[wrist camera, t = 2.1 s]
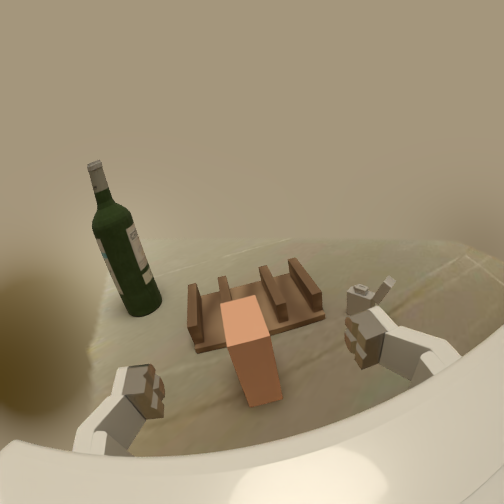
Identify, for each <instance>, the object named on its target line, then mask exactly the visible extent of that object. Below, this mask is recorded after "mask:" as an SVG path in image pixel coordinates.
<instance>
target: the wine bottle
mask: <svg viewBox="0 0 504 504" xmlns="http://www.w3.org/2000/svg"><path fill="white" fill-rule="evenodd" d="M87 168H88V172H89V174H90V178H91V182H92V186H93V190H94V194H95V198H96V201H97V212H96V214H95V216H94V219H93V221H92V229H93V232H94V235H95V238H96V240H97V243H98V246H99V248H100V251H101V253H102V256H103V258H104V261H105V263H106V265H107V268H108V270H109V272H110V275H111V277H112V279H113V281H114V283H115V286H116V288H117V290H118V292H119V294H120V296H121V298H122V300H123V303H124V305H125V307H126V309H127V311H128V313H129V314H131V315H132V316H137V317H138V316H144V315H147V314H149V313H151V312H153V311H154V310H156V309H157V308H158V307H159V306H160V304H161V301H162V297H161V294H160V292H159V290H158V287H157V285H156V282H155V280H154V277H153V275H152V272H151V269H150V267H149V264H148V262H147V259H146V256H145V254H144V251H143V248H142V245H141V242H140V240H139V237H138V234H137V231H136V228H135V225H134V222H133V219H132V216H131V213H130V212H129V211H128V210H127V209H126V208H125V207H123V206H122V205H119V204H117V203H115V201H114V200H113V199H112V196H111V193H110V190H109V187H108V184H107V181H106V178H105V175H104V172H103V169H102V163H101V162H100V160H97V161H95V162H92V163H90V164H88V167H87Z"/></svg>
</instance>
